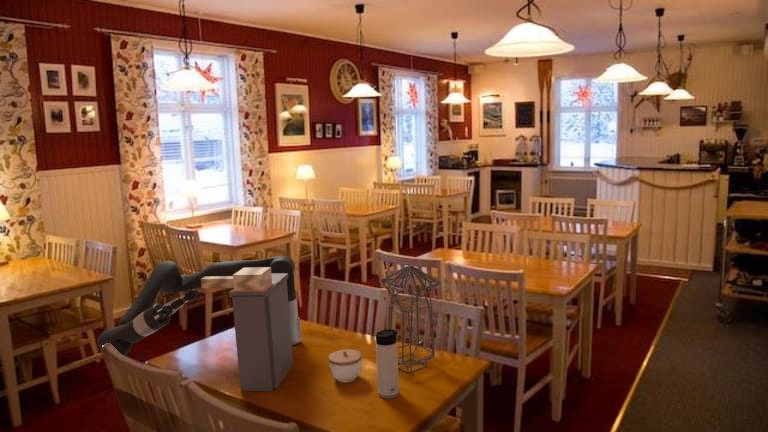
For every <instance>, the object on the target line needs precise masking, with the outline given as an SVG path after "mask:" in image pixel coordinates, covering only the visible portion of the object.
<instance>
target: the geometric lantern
mask: <svg viewBox="0 0 768 432" xmlns="http://www.w3.org/2000/svg"><path fill="white" fill-rule="evenodd" d="M398 273H399V274H398ZM397 274H398V275H397ZM395 275H397V276H396V277H395V278H392V276H395ZM411 277H412V280H413V281H412V282H413V284H414V288H410V287H409V286H410V280H411ZM415 277H416V278H415ZM415 279H417V280H418V282H419V283H420V285H421V286H422V287H421V288H418V286H417V283H416V282H417V281H416V280H415ZM423 280H424V281H423ZM390 281H391V282H390ZM400 281H401V285H398V283H399V282H400ZM380 282H381V284H383V286H384V288H385V289H386V290H387V293H388V296H391V297H390V302H389V303H388V323H387V329H392V323H393V308H394V309H396V310H399V311H400V312H402V323H401V324H402V329H401V330H402V331H401V332H402V334H401V346H397V350H398V349H400V348H401V356H399V357H398V365H402V366H404V367H405V368H406V370H405V369H403V368H401V367H399V366H398V370H401V371H403V372H405V373H406V374H409V373H413V372H417V371H419V370H421V369H424V368H426V367H427V362H428V361H430V360H431V359H434V358H435V337H434V319H433V317H434V315H433V304H432V297H431V292H432V291H433V290H434V289H436V288H437V287H438V286H439V285H440V284H441V281H440V280H437V279H436V278H434V277H432V275H429V274H428V273H426V272H424V271H423V270H421V269H419V268H418V267H416V266H414V265H413V264H407V265H406V266H404V267H402V268H400V269H398V270H395V271H394V272H392V273H390V274H389V275H386V276H385V277H383V278H381V279H379V281H378V283H380ZM427 282H428V283H429V286H427V285H426V284H427ZM407 283H408V284H407ZM432 283H434V284H432ZM406 284H407V286H406ZM390 287H391V290H390ZM405 289H406V290H405ZM396 290H397V291H398V292H397V293H395V291H396ZM426 290H427V292H426ZM412 291H415V292H416V293H415V292H412ZM422 291H423V294H422V295H420V294H421V293H422ZM403 292H405V293H409V294H410V296H411V297H406V298H402V299H398V298H397V296H398V295H399V294H401V293H403ZM428 294H429V301H428V298H427V295H428ZM421 298H424V299H425V300H423V299H421ZM393 299H395V300H393ZM409 299H411V300H410V302H411V304H410V306H409V308H408V309H407V310H405V309H403V307H402V305H401V303H400V302H401V301H406V300H409ZM418 301H420V302H422V303H425V304H426V305H427V306H425V307H420V308H419V302H418ZM429 302H430V303H429ZM394 303H397V304H398V307H399V308H398V307H396V306H395V305H394ZM415 303H416V309H413V308H414V304H415ZM425 309H428V317H429V329H430V332H429V333H430V342H431V343H430V344H431V350H430V349H429V348H427V347H425V346H423V345H421V344H420V331H419V329H420V328H419V326H420V325H419V323H420V321H419V311H420V310H425ZM414 312H416V329H417V330H416V333H417V334H416V335H417V343H413V342H412V341H413V340H412V338H413V313H414ZM405 313H407V326H408V343H405ZM412 346H415V348H414V349H413V353H412ZM405 347H408V348H409V353H406V354H404V353H405V352H404V350H405V349H404V348H405ZM418 347H420V348H422V349H424V350H425V351H427V352H429V353H431V354H430V355H429V356H428V357H425V358H424V357H422V356H419V355H418V354H415V352H416V351H417V349H418ZM407 356H409V359H405V360H404V357H407ZM414 357H417V358H419V359H418V360H417V359H415V358H414ZM406 364H407V365H406ZM408 364H409V366H408ZM412 364H413V365H412ZM421 364H422V365H424V366H421V367H419V368H415V369H413V367H416V366H419V365H421ZM409 368H410V370H409Z"/></svg>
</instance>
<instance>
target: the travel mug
mask: <svg viewBox="0 0 768 432" xmlns="http://www.w3.org/2000/svg"><path fill="white" fill-rule="evenodd" d="M398 333H399V332H398V330H396V329H393V328H391V329H388V328H387V329H381V330H380V331H378V332H377V333H376V334H375V352H376V355H375V356H376V371H377V373H376V375H377V391H378V393H377V394H378V396H379V397H380V398H382V399H385V400H391V399H395V398H397V397H398V396H399V395H400V383H399V382H400V381H399V380H400V379H399V368H398V367H399V364H398V358H399V357H398V349H397V347H398V343H397V341H398V340H397V335H398Z"/></svg>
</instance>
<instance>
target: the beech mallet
mask: <svg viewBox="0 0 768 432" xmlns="http://www.w3.org/2000/svg"><path fill="white" fill-rule="evenodd" d="M271 283H272V276H271V267H252V268H243V269H241V270H240V271H238V272H237V273H235V274H234V275H233V276H205V277H203V278H202V279H201V285H202V288H201V289H234V291H262V290H264V289H265V288H266V287H267V286H268V285H270V284H271Z"/></svg>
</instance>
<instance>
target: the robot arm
mask: <svg viewBox="0 0 768 432" xmlns="http://www.w3.org/2000/svg"><path fill="white" fill-rule="evenodd" d="M252 267H271V274H272V273H288V278H287V291H288V304H289V317H290V330H291V343H292V346H296V345H297V344H299V343H302V342H303V339H302V328H301V317H299V316H298V315H299V313H298V303H297V291H296V286H295V271H296V270H295V268H296V264H295V262H294V259H292V258H291V257H290V256H287V255H278V256H277V255H276V256H272V257H267V258H263V259H262V258H261V259H250V260H249V259H248V260H247V259H246V260H245V259H243V260H228V261H227V260H226V261H217V262H214V263H212V264H210V265H208V266H206V267H205V268H204V269H202V270H200V271H199V272H196V273H192V274H181V272H180V268H179V266H178V265H177V264H176V263H175V262H174V261H172V260H164V261H162V262H159V263H158V264H157V265H156V266H155V267H154V268H153V270H152V271H151V272H150V275H149V277H148V279H147V281H146V282H145V284H144V286H143V287H142V289H141V290H140V292H139V294H138V296H137V298H135V300H134V302H133V303H132V305H131V306H130V307H129V308H128V310H126V312H125V313H124V315H122V317H121V318H120V319H119V321H118V322H117V323H118V324H117V325H118V326H115V327H111V328H109V329H108V328H107V329H106V330H104V331H103V332H102V333H100V334H99V336H98V338H97V341H96V342H97V345H98V347H99V348H100V349H101V350H103V349H102V345H104V344H106V343H111V344H112V345H113V346H114V347H115V348H116V349H117V350H118V351H119V352H120V353H121V354H122V355H124V356H125V357H126V356H127V355H128V354H129V353H130V351H131V349H132V346H133V344H136V343H139V342H140V341H141V340H143V339H145V338H146V337H147V336H150V335H152V334H154V333H156V332H157V331H158V330H160V329H162V328H163V327H165V326H166V325H168V324H169V323H170V321H171V316H172V315H174V314H175V313H176V312H177V311H178V310H180V309H181V308H183V307H184V305H185V304H187V303H188V302H190V301H191V300H192V299H194V298H195V297H196V296H198V293H197V291H196V290H199V289H200V290H202V289H203V288H202V285H201V279H202V278H203V277H205V276H233V275H234V274H235V273H237V272H238V271H240V270H241V269H243V268H252ZM188 291H189V292H188ZM159 292H161V293H162V294H170V295H171V294H178V293H182V292H187V293H184V294H183V295H182V296H181V297H176V298H174V299H172V300H171V301H168V302H167V303H165V304H161V303H155V301H156V299H157V296H158V295H159Z"/></svg>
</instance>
